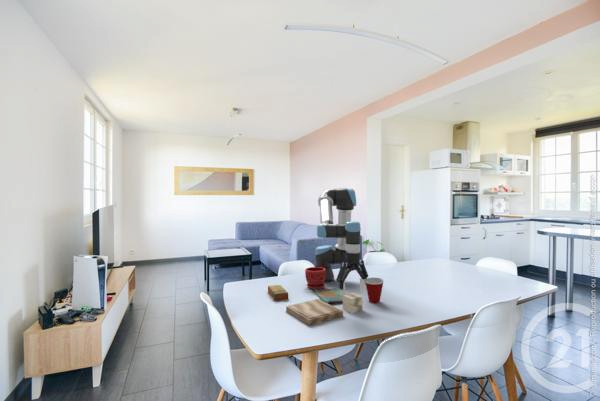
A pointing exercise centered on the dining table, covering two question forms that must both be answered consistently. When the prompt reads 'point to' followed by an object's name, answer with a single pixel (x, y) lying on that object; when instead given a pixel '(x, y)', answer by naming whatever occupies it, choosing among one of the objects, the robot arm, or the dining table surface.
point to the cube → (352, 302)
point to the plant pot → (315, 277)
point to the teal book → (330, 295)
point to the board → (314, 311)
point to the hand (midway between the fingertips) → (352, 293)
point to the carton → (277, 292)
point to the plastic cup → (374, 289)
